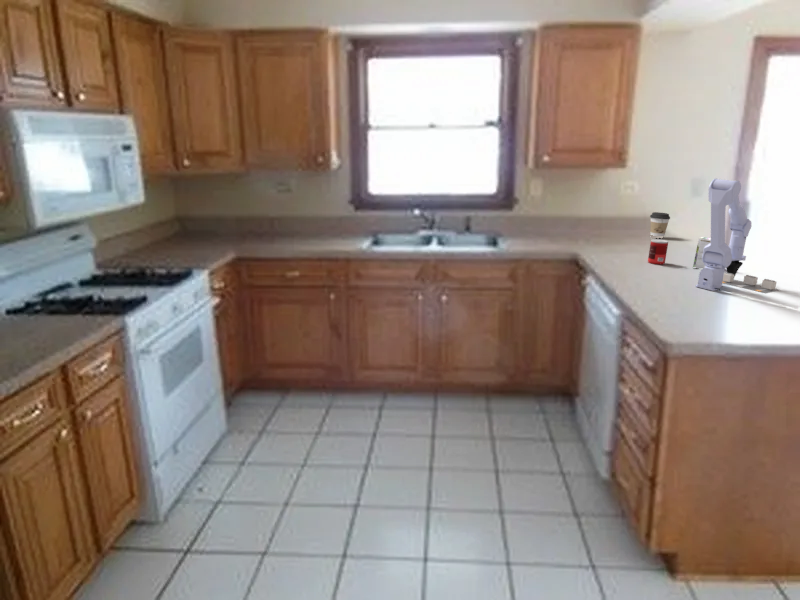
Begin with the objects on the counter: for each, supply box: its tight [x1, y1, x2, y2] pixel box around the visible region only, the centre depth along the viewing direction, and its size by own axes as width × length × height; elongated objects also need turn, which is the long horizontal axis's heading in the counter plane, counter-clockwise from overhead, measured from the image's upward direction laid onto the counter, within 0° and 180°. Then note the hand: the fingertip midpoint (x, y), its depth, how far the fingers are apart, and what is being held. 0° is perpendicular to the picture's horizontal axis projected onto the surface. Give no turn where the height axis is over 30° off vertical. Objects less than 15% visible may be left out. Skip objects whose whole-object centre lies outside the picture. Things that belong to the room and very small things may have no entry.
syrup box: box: [692, 236, 711, 268], centre depth 287 cm, size 6×6×14 cm
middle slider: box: [743, 274, 758, 285], centre depth 255 cm, size 3×4×3 cm
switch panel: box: [722, 279, 780, 294], centre depth 254 cm, size 12×22×1 cm, turn 33°
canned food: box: [647, 238, 669, 266], centre depth 295 cm, size 8×8×11 cm
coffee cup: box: [649, 211, 671, 237], centre depth 367 cm, size 11×11×15 cm
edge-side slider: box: [761, 278, 777, 290], centre depth 249 cm, size 3×4×3 cm
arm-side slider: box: [723, 271, 735, 282], centre depth 259 cm, size 3×4×3 cm
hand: (730, 278), depth 261 cm, fingers closed
